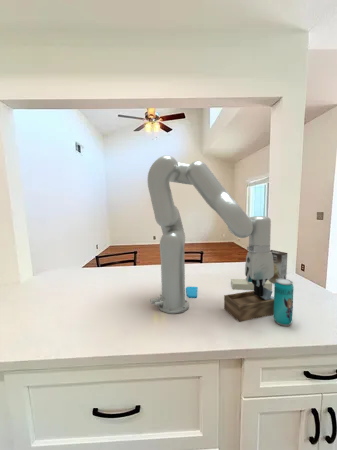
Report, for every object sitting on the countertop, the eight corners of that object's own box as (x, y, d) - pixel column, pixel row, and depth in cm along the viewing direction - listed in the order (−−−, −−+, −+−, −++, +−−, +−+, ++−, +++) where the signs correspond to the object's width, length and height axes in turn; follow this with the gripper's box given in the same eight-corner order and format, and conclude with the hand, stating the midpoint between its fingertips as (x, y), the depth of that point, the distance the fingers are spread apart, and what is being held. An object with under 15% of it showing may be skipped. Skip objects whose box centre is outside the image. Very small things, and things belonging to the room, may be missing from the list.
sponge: (183, 296, 96) (196, 295, 95) (186, 286, 108) (197, 285, 107) (184, 299, 96) (197, 299, 95) (186, 289, 108) (198, 288, 107)
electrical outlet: (230, 277, 112) (267, 278, 109) (230, 284, 112) (267, 285, 109) (233, 282, 105) (272, 283, 102) (233, 290, 105) (271, 291, 102)
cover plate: (266, 299, 81) (269, 290, 81) (254, 292, 88) (257, 284, 88) (292, 309, 84) (295, 300, 84) (278, 301, 91) (281, 293, 91)
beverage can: (284, 328, 71) (285, 285, 70) (269, 320, 77) (270, 279, 75) (295, 324, 74) (297, 282, 72) (281, 316, 79) (282, 277, 78)
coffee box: (263, 280, 116) (264, 251, 115) (270, 277, 120) (271, 249, 118) (280, 285, 109) (281, 254, 107) (286, 282, 112) (288, 252, 111)
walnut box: (239, 321, 76) (239, 306, 76) (224, 308, 86) (224, 295, 85) (275, 314, 81) (276, 300, 80) (257, 302, 90) (257, 290, 90)
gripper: (248, 252, 76) (248, 302, 78) (282, 249, 80) (281, 296, 82) (236, 248, 83) (236, 293, 85) (268, 245, 88) (267, 288, 89)
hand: (258, 294), depth 84 cm, fingers closed
